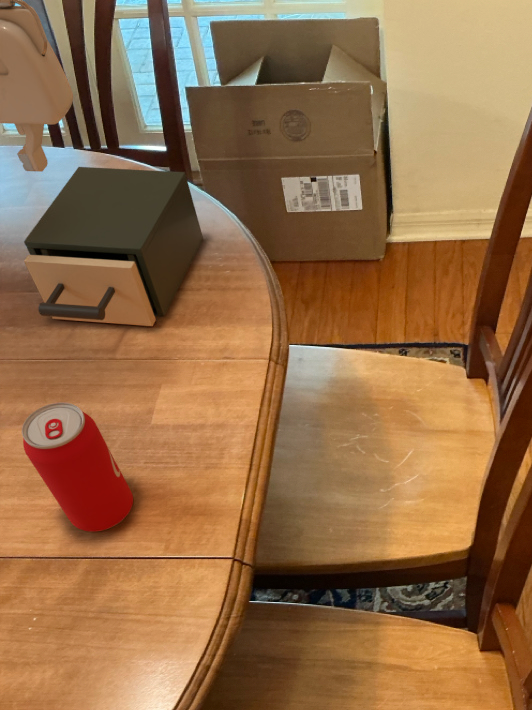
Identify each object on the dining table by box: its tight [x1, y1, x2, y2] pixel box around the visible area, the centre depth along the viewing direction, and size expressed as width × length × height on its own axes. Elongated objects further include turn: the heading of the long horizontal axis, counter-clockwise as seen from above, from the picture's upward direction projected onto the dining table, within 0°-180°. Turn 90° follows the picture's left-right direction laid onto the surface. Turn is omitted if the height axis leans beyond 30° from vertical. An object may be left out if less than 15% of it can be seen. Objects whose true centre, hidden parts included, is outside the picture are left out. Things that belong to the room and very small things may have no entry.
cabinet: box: [23, 166, 204, 317], centre depth 92 cm, size 16×14×10 cm
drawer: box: [23, 249, 156, 327], centre depth 89 cm, size 19×12×8 cm, turn 172°
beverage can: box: [21, 401, 134, 533], centre depth 70 cm, size 6×6×12 cm
